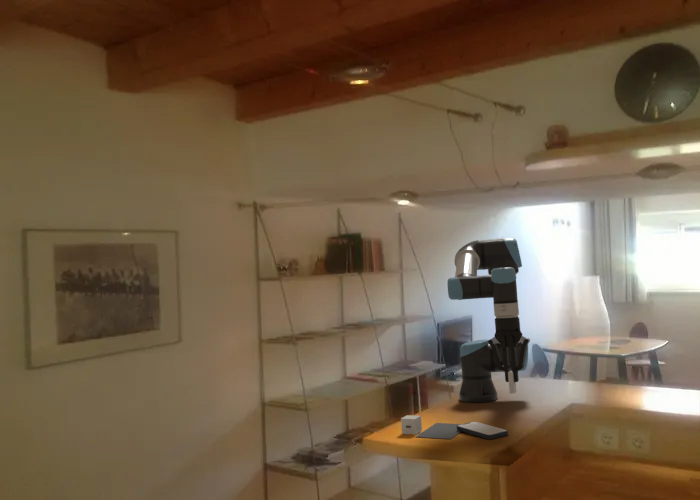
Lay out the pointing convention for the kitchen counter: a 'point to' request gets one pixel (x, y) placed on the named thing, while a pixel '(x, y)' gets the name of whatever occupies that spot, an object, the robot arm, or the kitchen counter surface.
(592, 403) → the kitchen counter surface
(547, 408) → the kitchen counter surface
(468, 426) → the phone case
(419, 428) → the charger block
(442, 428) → the charging mat
